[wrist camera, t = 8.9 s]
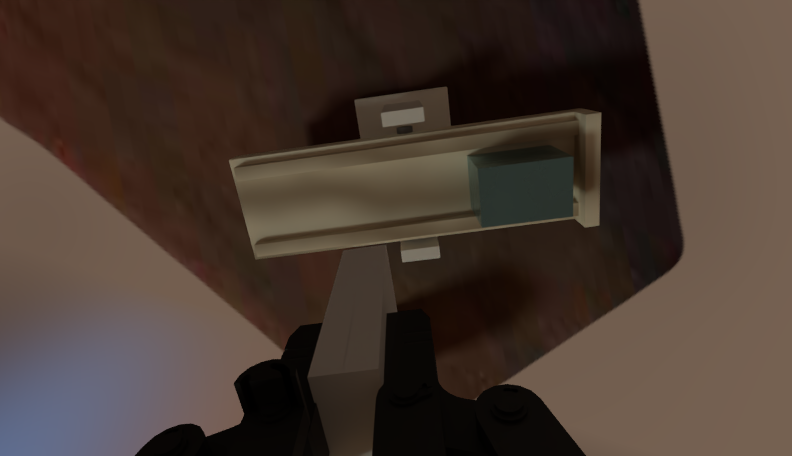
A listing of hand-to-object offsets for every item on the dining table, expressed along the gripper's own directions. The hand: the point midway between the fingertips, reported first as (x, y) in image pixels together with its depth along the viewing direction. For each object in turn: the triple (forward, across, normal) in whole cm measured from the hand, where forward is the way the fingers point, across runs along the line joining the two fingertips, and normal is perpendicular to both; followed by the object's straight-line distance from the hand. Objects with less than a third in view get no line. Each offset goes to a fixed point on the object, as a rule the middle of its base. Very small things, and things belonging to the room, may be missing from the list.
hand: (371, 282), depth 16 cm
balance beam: (+22, +2, -2) cm, 23 cm away
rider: (+18, +9, -2) cm, 20 cm away
